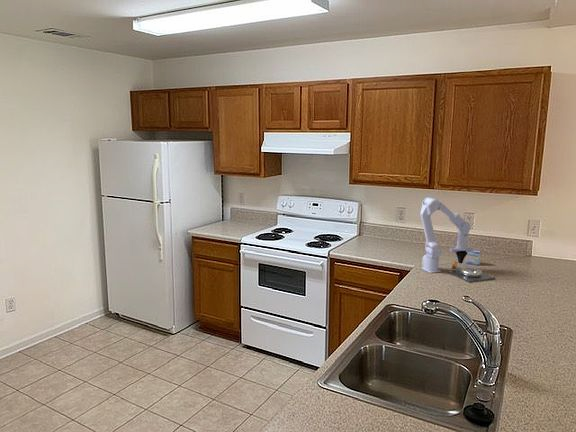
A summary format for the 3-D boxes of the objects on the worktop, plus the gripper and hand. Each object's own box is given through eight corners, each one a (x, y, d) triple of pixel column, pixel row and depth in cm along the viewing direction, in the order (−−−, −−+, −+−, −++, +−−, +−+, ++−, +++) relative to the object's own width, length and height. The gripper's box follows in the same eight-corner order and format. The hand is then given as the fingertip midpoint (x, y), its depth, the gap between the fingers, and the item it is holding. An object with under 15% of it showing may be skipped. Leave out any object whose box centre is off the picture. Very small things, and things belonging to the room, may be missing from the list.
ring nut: (485, 274, 254) (485, 267, 253) (474, 278, 248) (475, 270, 247) (457, 267, 268) (458, 260, 267) (447, 270, 262) (447, 263, 261)
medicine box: (465, 263, 279) (466, 250, 277) (466, 262, 282) (467, 249, 281) (479, 265, 275) (480, 252, 273) (479, 263, 279) (481, 250, 277)
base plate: (447, 272, 261) (447, 270, 261) (472, 269, 267) (472, 268, 266) (469, 282, 244) (469, 280, 244) (495, 279, 250) (495, 277, 250)
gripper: (468, 238, 268) (466, 260, 271) (447, 239, 265) (445, 261, 267) (476, 241, 262) (474, 263, 264) (454, 242, 258) (452, 265, 261)
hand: (460, 262), depth 265 cm, fingers closed
